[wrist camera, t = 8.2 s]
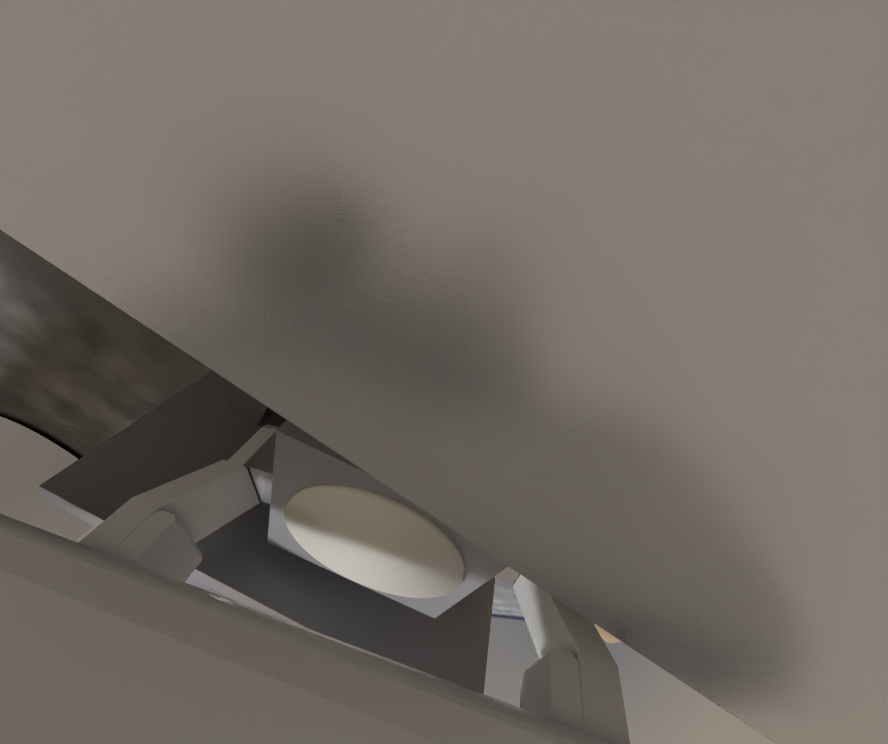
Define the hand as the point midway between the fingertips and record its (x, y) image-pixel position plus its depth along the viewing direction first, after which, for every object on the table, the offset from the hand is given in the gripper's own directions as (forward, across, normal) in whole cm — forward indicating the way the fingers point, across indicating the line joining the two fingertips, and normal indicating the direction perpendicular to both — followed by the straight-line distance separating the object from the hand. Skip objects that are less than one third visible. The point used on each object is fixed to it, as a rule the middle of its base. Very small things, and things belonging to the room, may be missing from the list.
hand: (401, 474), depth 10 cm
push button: (+1, 0, 0) cm, 1 cm away
